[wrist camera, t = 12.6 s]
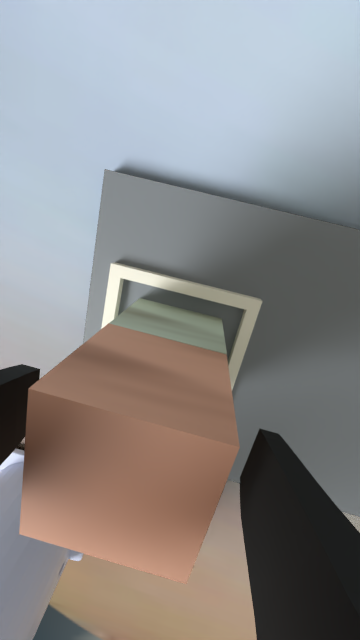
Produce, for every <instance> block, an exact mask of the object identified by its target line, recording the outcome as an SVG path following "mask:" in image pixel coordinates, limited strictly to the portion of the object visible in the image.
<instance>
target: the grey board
mask: <svg viewBox="0 0 360 640" xmlns="http://www.w3.org/2000/svg"><path fill="white" fill-rule="evenodd" d="M139 298H141V299H145V300H149V301H153V302H157V303H161V304H165V305H169V306H173V307H177V308H181V309H185V310H189V311H193V312H197V313H201V314H205V315H209V316H213V317H217V318H221V319H222V323H223V330H224V337H225V344H226V351H227V361H228V368H229V375H230V382H231V389H232V396H233V403H234V410H235V417H236V424H237V431H238V438H239V446H240V448H239V450H238V453H237V456H236V458H235V461H234V463H233V466H232V468H231V471H230V474H229V476H228V479H227V480H230V481H233V482H237V483H240V476H241V473H242V471H243V468H244V466H245V463H246V461H247V458H248V456H249V453H250V451H251V448H252V446H253V443H254V441H255V438H256V436H257V433H258V431H259V428H260V429H263V430H267V431H271V432H274V433H278V434H280V436H281V437H282V438H283V439H284V440H285V442H286V443H287V444H288V445H289V447H290V448H291V449H292V450H293V452H294V453H295V454H296V455H297V457H298V458H299V459H300V461H301V462H302V463H303V464H304V466H305V467H306V468H307V470H308V471H309V472H310V473H311V475H312V476H313V477H314V478H315V480H316V481H317V482H318V484H319V485H320V486H321V487H322V489H323V490H324V491H325V492H326V494H327V495H328V496H329V497H330V498H331V500H332V501H333V502H334V503H335V505H336V506H337V507H338V508H339V509H340V511H341V512H345V513H349V514H352V515H356V516H359V517H360V230H359V229H355V228H350V227H346V226H342V225H338V224H334V223H329V222H325V221H321V220H317V219H312V218H308V217H304V216H300V215H296V214H291V213H287V212H283V211H279V210H275V209H270V208H266V207H262V206H258V205H253V204H249V203H245V202H241V201H237V200H232V199H228V198H224V197H220V196H216V195H211V194H207V193H203V192H199V191H194V190H190V189H186V188H182V187H178V186H173V185H169V184H165V183H161V182H157V181H152V180H148V179H144V178H140V177H135V176H131V175H127V174H123V173H119V172H114V171H110V170H106V169H105V171H104V179H103V187H102V195H101V203H100V211H99V219H98V227H97V235H96V243H95V251H94V259H93V267H92V275H91V283H90V291H89V299H88V307H87V315H86V323H85V331H84V339H83V344H84V343H85V342H86V341H87V340H89V339H90V338H91V337H92V336H94V335H95V334H96V333H97V332H98V331H100V330H101V329H102V328H103V327H105V326H106V325H107V324H108V323H110V322H111V321H112V320H114V319H115V318H116V317H117V316H118V315H120V314H121V313H122V312H123V311H125V310H126V309H127V308H128V307H129V306H131V305H132V304H133V303H134V302H136V301H137V300H138V299H139Z"/></svg>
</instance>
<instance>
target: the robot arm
mask: <svg viewBox="0 0 360 640" xmlns="http://www.w3.org/2000/svg"><path fill="white" fill-rule="evenodd" d="M39 375H40V369H37V368H34V367H30V366H26V365H23V364H21V365H17V366H13V367H9V368H5V369H2V370H0V640H32V639H33V637H34V635H35V633H36V631H37V628H38V626H39V624H40V622H41V619H42V617H43V615H44V613H45V610H46V608H47V606H48V604H49V601H50V599H51V597H52V595H53V592H54V590H55V588H56V586H57V583H58V581H59V579H60V577H61V574H62V572H63V570H64V568H65V565H66V563H67V561H68V559H71V560H75V561H79V560H81V559H82V557H83V554H84V553H81V552H77V551H74V550H70V549H67V548H64V547H60V546H57V545H54V544H50V543H47V542H44V541H40V540H37V539H34V538H30V537H27V536H24V535H20V534H19V529H20V513H21V498H22V482H23V466H24V450H20V449H16V448H17V446H18V445H19V444H20V442H21V441H22V440H23V438H24V437H25V435H26V419H27V403H28V388H30V387H31V386H32V385H33V384H35V383H36V382H37V381H38V380H39ZM240 506H241V520H242V528H243V535H244V543H245V550H246V557H247V565H248V572H249V579H250V587H251V594H252V601H253V608H254V616H255V625H256V634H257V640H360V533H359V532H358V531H357V529H356V528H355V527H354V526H353V525H352V524H351V522H350V521H349V520H348V519H347V518H346V517H345V515H344V514H343V513H342V512H341V511H340V509H339V508H338V507H337V506H336V505H335V503H334V502H333V501H332V500H331V498H330V497H329V496H328V495H327V494H326V492H325V491H324V490H323V489H322V487H321V486H320V485H319V484H318V482H317V481H316V480H315V478H314V477H313V476H312V475H311V473H310V472H309V471H308V470H307V468H306V467H305V466H304V464H303V463H302V462H301V461H300V459H299V458H298V457H297V455H296V454H295V453H294V452H293V450H292V449H291V448H290V447H289V445H288V444H287V443H286V442H285V440H284V439H283V438H282V437H281V436H280V434H278V433H274V432H271V431H267V430H263V429H260V428H259V431H258V433H257V436H256V438H255V441H254V443H253V446H252V448H251V451H250V453H249V456H248V458H247V461H246V463H245V466H244V468H243V471H242V473H241V476H240Z"/></svg>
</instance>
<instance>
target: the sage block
mask: <svg viewBox="0 0 360 640" xmlns="http://www.w3.org/2000/svg"><path fill="white" fill-rule="evenodd" d="M109 324H113V325H117V326H121V327H124V328H128V329H132V330H136V331H140V332H143V333H147V334H151V335H155V336H158V337H162V338H166V339H170V340H173V341H177V342H181V343H185V344H188V345H192V346H196V347H200V348H203V349H207V350H211V351H215V352H219V353H222V354H226V355H227V351H226V344H225V337H224V330H223V323H222V319H221V318H217V317H213V316H209V315H205V314H201V313H197V312H193V311H189V310H185V309H181V308H177V307H173V306H169V305H165V304H161V303H157V302H153V301H149V300H145V299H141V298H139V299H138V300H137V301H136V302H134V303H133V304H132V305H131V306H129V307H128V308H127V309H126V310H125V311H123V312H122V313H121V314H120V315H118V316H117V317H116V318H115V319H114V320H112V321H111V322H110V323H109Z"/></svg>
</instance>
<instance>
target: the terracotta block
mask: <svg viewBox="0 0 360 640" xmlns="http://www.w3.org/2000/svg"><path fill="white" fill-rule="evenodd" d="M239 448H240V446H239V438H238V431H237V424H236V417H235V410H234V403H233V396H232V389H231V382H230V375H229V368H228V361H227V355H226V354H222V353H219V352H215V351H211V350H207V349H203V348H200V347H196V346H192V345H188V344H185V343H181V342H177V341H173V340H170V339H166V338H162V337H158V336H155V335H151V334H147V333H143V332H140V331H136V330H132V329H128V328H124V327H121V326H117V325H113V324H109V323H108V324H107V325H106V326H105V327H103V328H102V329H101V330H100V331H98V332H97V333H96V334H95V335H94V336H92V337H91V338H90V339H89V340H87V341H86V342H85V343H84V344H83V345H81V346H80V347H79V348H78V349H76V350H75V351H74V352H73V353H71V354H70V355H69V356H68V357H67V358H65V359H64V360H63V361H62V362H60V363H59V364H58V365H57V366H55V367H54V368H53V369H52V370H51V371H49V372H48V373H47V374H46V375H44V376H43V377H42V378H41V379H40V380H38V381H37V382H36V383H35V384H33V385H32V386H31V387H30V388H28V403H27V419H26V435H25V450H24V466H23V482H22V498H21V513H20V529H19V534H20V535H24V536H27V537H30V538H34V539H37V540H40V541H44V542H47V543H50V544H54V545H57V546H60V547H64V548H67V549H70V550H74V551H77V552H81V553H84V554H87V555H91V556H94V557H97V558H101V559H104V560H107V561H111V562H114V563H117V564H121V565H124V566H127V567H131V568H134V569H137V570H141V571H144V572H147V573H151V574H154V575H157V576H161V577H164V578H167V579H171V580H174V581H177V582H181V583H184V584H187V581H188V579H189V576H190V574H191V571H192V569H193V566H194V563H195V561H196V558H197V556H198V553H199V551H200V548H201V545H202V543H203V540H204V538H205V535H206V533H207V530H208V527H209V525H210V522H211V520H212V517H213V515H214V512H215V509H216V507H217V504H218V502H219V499H220V497H221V494H222V492H223V489H224V486H225V484H226V481H227V479H228V476H229V474H230V471H231V468H232V466H233V463H234V461H235V458H236V456H237V453H238V450H239Z"/></svg>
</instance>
